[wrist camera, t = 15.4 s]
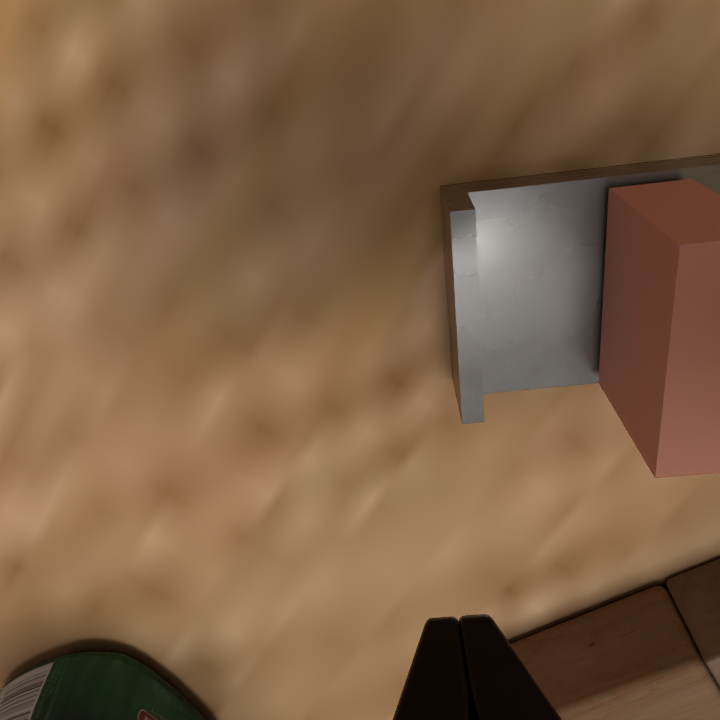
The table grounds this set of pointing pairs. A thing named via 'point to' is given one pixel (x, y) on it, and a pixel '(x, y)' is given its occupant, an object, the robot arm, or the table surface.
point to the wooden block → (636, 655)
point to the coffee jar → (92, 691)
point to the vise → (535, 274)
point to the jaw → (664, 323)
